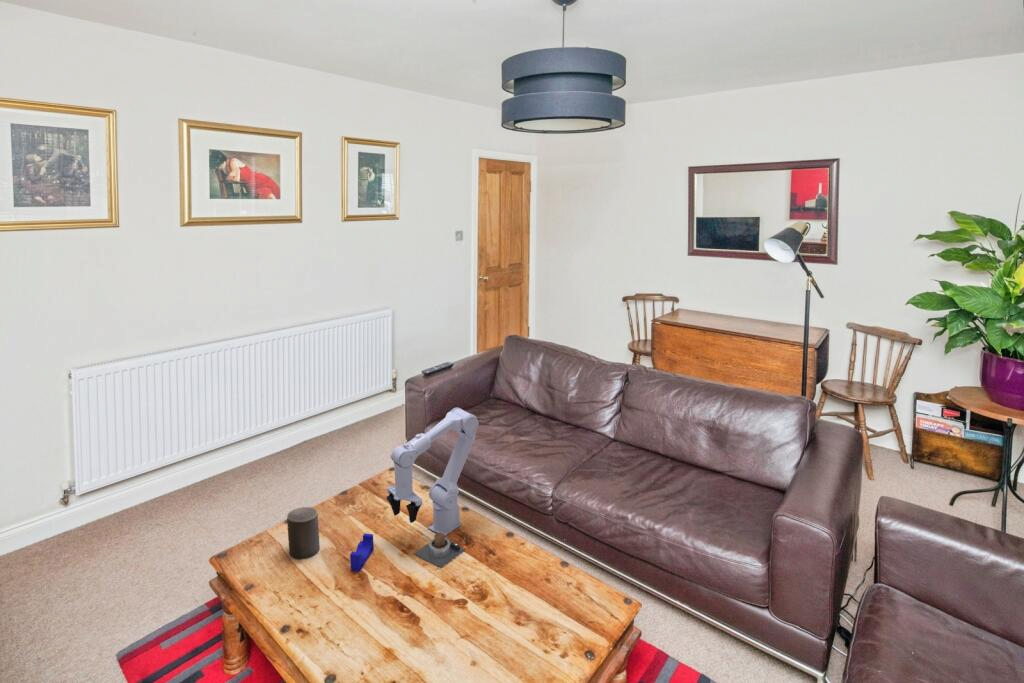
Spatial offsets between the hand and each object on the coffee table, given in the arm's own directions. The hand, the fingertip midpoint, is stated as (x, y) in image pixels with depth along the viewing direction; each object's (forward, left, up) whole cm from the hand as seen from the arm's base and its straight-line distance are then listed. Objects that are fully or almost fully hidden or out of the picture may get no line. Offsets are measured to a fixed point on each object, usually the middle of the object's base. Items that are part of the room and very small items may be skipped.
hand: (404, 517), depth 200 cm
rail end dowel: (-3, +13, -9) cm, 16 cm away
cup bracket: (-3, +13, -10) cm, 17 cm away
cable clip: (+15, -5, -10) cm, 19 cm away
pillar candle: (+23, -24, -10) cm, 35 cm away
